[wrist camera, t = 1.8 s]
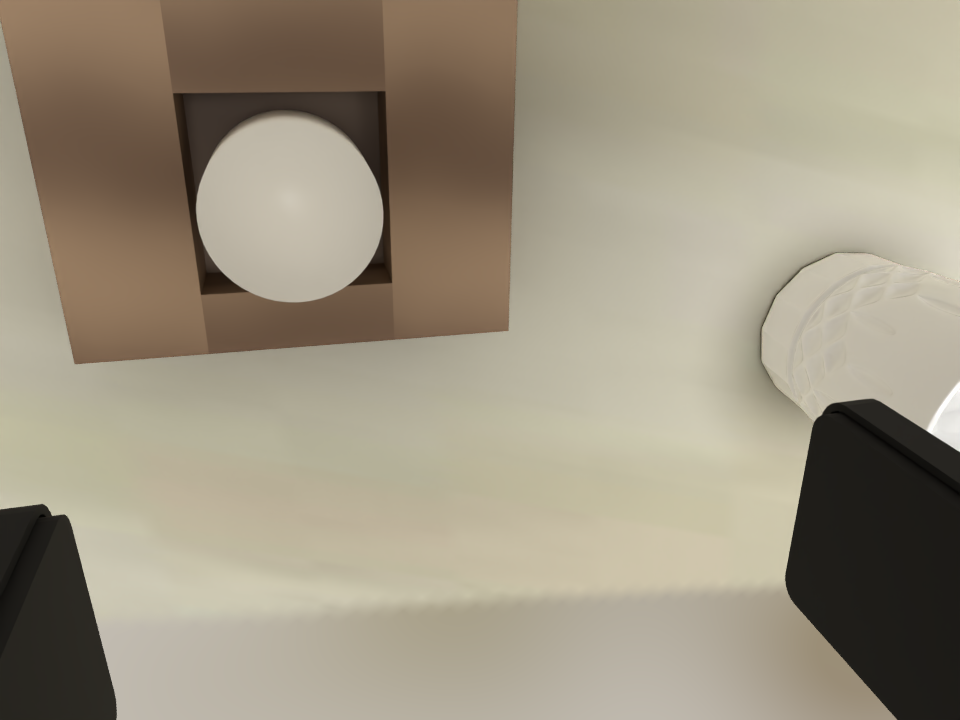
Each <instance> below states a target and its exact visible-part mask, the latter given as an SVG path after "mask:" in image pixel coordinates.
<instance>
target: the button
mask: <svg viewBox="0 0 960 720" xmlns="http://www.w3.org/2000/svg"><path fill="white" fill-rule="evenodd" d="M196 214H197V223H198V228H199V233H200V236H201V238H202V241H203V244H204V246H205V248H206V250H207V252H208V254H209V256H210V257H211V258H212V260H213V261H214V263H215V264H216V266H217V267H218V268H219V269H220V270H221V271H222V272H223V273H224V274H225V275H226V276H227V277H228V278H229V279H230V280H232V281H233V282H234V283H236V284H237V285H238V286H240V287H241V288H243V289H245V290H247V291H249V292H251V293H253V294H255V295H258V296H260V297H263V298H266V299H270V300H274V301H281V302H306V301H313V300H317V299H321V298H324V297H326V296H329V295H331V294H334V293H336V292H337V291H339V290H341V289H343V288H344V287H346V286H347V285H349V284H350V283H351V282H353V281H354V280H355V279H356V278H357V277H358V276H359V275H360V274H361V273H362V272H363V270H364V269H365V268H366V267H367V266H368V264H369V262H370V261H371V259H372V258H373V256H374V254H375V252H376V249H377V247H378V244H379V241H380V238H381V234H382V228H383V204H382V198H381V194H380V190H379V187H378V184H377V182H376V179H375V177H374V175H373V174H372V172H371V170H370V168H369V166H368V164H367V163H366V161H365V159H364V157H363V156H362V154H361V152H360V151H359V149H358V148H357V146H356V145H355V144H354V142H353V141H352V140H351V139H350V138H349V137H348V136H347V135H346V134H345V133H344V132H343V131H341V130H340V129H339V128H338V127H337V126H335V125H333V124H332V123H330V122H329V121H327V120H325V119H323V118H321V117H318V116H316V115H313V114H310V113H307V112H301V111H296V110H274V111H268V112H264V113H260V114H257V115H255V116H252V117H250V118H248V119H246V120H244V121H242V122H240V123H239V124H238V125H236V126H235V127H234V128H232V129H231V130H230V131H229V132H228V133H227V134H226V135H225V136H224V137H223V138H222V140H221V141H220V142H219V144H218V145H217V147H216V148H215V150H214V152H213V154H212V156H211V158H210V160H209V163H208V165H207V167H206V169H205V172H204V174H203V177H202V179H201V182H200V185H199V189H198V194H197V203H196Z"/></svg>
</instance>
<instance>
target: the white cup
mask: <svg viewBox="0 0 960 720" xmlns="http://www.w3.org/2000/svg"><path fill="white" fill-rule="evenodd" d="M761 361H762V363H763V365H764V367H765V368H766V370H767V372H768V374H769V376H770V378H771V379H772V381H773V383H774V385H775V386H776V387H777V388H778V389H779V390H780V391H781V392H783V393H784V394H785V395H786V396H787V397H788V398H790V399H791V400H792V401H793V402H794V403H795V404H797V405H798V406H799V407H800V408H802V409H803V411H804V412H805V413H806V414H807V415H808V416H809V418H810V419H811V420H812V421H813V422H815V420H816V419H817V417H819V416H821V415H822V413H823V411H824V410H825V408H826V407H827V406H828V405H830V404H832V403H837V402H845V401H853V400H861V399H875V400H878V401H880V402H882V403H883V404H885V405H887V406H888V407H890V408H891V409H893V410H894V411H896V412H898V413H899V414H901V415H902V416H904V417H905V418H907V419H909V420H910V421H912V422H913V423H915V424H917V425H918V426H920V427H921V428H923V429H924V430H926V431H928V432H929V433H931V434H932V435H934V436H935V437H937V438H939V439H940V440H942V441H943V442H945V443H946V444H948V445H950V446H951V447H953V448H954V449H956V450H957V451H959V452H960V281H958V280H954V279H950V278H946V277H944V276H941V275H938V274H935V273H933V272H929V271H925V270H921V269H917V268H912V267H907V266H903V265H900V264H897V263H895V262H892V261H889V260H886V259H884V258H881V257H878V256H875V255H872V254H869V253H835V254H832V255H830V256H828V257H826V258H824V259H822V260H820V261H817V262H815V263H813V264H811V265H809V266H807V267H805V268H803V269H802V270H801V271H800V272H799V273H798V274H797V275H796V276H795V277H794V278H793V279H792V280H791V281H790V282H789V283H788V284H787V285H786V286H785V287H784V288H783V289H782V290H781V291H780V292H779V293H778V294H777V296H776V298H775V300H774V302H773V304H772V307H771V309H770V311H769V313H768V316H767V318H766V320H765V322H764V325H763V327H762V349H761Z"/></svg>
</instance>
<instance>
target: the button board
mask: <svg viewBox="0 0 960 720" xmlns="http://www.w3.org/2000/svg"><path fill="white" fill-rule="evenodd" d="M517 3H518V0H0V20H1V24H2V29H3V34H4V38H5V43H6V48H7V52H8V57H9V62H10V66H11V71H12V75H13V80H14V85H15V89H16V94H17V99H18V103H19V108H20V113H21V117H22V122H23V126H24V131H25V136H26V140H27V145H28V150H29V154H30V159H31V164H32V168H33V173H34V178H35V182H36V187H37V191H38V196H39V201H40V205H41V210H42V215H43V219H44V224H45V229H46V233H47V238H48V242H49V247H50V252H51V256H52V261H53V266H54V270H55V275H56V280H57V284H58V289H59V293H60V298H61V303H62V307H63V312H64V317H65V321H66V326H67V331H68V335H69V340H70V344H71V349H72V354H73V358H74V363H75V364H83V363H96V362H109V361H122V360H135V359H148V358H161V357H174V356H187V355H200V354H213V353H226V352H239V351H252V350H265V349H278V348H291V347H304V346H317V345H330V344H343V343H356V342H369V341H382V340H395V339H408V338H421V337H434V336H447V335H460V334H473V333H486V332H499V331H508V327H509V291H510V255H511V219H512V183H513V147H514V111H515V75H516V39H517ZM274 110H296V111H301V112H307V113H310V114H313V115H316V116H318V117H321V118H323V119H325V120H327V121H329V122H330V123H332V124H333V125H335V126H337V127H338V128H339V129H340V130H341V131H343V132H344V133H345V134H346V135H347V136H348V137H349V138H350V139H351V140H352V141H353V142H354V144H355V145H356V146H357V148H358V149H359V151H360V152H361V154H362V156H363V157H364V159H365V161H366V163H367V164H368V166H369V168H370V170H371V172H372V174H373V175H374V177H375V179H376V182H377V184H378V187H379V190H380V194H381V198H382V204H383V228H382V234H381V238H380V241H379V244H378V247H377V249H376V252H375V254H374V256H373V258H372V259H371V261H370V262H369V264H368V266H367V267H366V268H365V269H364V270H363V272H362V273H361V274H360V275H359V276H358V277H357V278H356V279H355V280H354V281H353V282H351V283H350V284H349V285H347V286H346V287H344V288H343V289H341V290H339V291H337V292H336V293H334V294H331V295H329V296H326V297H324V298H321V299H317V300H313V301H306V302H281V301H274V300H270V299H266V298H263V297H260V296H258V295H255V294H253V293H251V292H249V291H247V290H245V289H243V288H241V287H240V286H238V285H237V284H236V283H234V282H233V281H232V280H230V279H229V278H228V277H227V276H226V275H225V274H224V273H223V272H222V271H221V270H220V269H219V268H218V267H217V266H216V264H215V263H214V261H213V260H212V258H211V257H210V256H209V254H208V252H207V250H206V248H205V246H204V244H203V241H202V238H201V236H200V233H199V228H198V223H197V214H196V203H197V194H198V189H199V185H200V182H201V179H202V177H203V174H204V172H205V169H206V167H207V165H208V163H209V160H210V158H211V156H212V154H213V152H214V150H215V148H216V147H217V145H218V144H219V142H220V141H221V140H222V138H223V137H224V136H225V135H226V134H227V133H228V132H229V131H230V130H231V129H232V128H234V127H235V126H236V125H238V124H239V123H240V122H242V121H244V120H246V119H248V118H250V117H252V116H255V115H257V114H260V113H264V112H268V111H274Z"/></svg>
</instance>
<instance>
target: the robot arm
mask: <svg viewBox="0 0 960 720" xmlns="http://www.w3.org/2000/svg"><path fill="white" fill-rule="evenodd" d="M785 581H786V587H787V591H788V594H789V596H790V598H791V600H792V601H793V602H794V604H795V605H796V606H797V607H798V608H799V609H800V611H801V612H802V613H803V614H804V615H805V616H806V617H807V619H808V620H810V622H811V623H812V624H813V625H814V626H815V628H816V629H817V630H818V631H819V632H820V633H821V634H822V635H823V636H824V638H825V639H826V640H827V641H828V642H829V643H830V644H831V645H832V646H833V648H834V649H835V650H836V651H837V652H838V653H839V654H840V656H841V657H842V658H843V659H844V660H845V661H846V662H847V663H848V665H849V666H850V667H851V668H852V669H853V670H854V671H855V672H856V674H857V675H858V676H859V677H860V678H861V679H862V680H863V682H864V683H865V684H866V685H867V686H868V687H869V688H870V689H871V691H872V692H873V693H874V694H875V695H876V696H877V697H878V698H879V699H880V701H881V702H882V703H883V704H884V705H885V706H886V707H887V708H888V710H889V711H890V712H891V713H892V714H893V715H894V716H895V717H896V719H897V720H960V452H959V451H957V450H956V449H954V448H953V447H951V446H950V445H948V444H946V443H945V442H943V441H942V440H940V439H939V438H937V437H935V436H934V435H932V434H931V433H929V432H928V431H926V430H924V429H923V428H921V427H920V426H918V425H917V424H915V423H913V422H912V421H910V420H909V419H907V418H905V417H904V416H902V415H901V414H899V413H898V412H896V411H894V410H893V409H891V408H890V407H888V406H887V405H885V404H883V403H882V402H880V401H878V400H875V399H861V400H853V401H845V402H837V403H832V404H830V405H828V406H827V407H826V408H825V410H824V411H823V413H822V415H821V416H819V417H817V419H816V420H815V422H814V425H813V428H812V433H811V439H810V444H809V449H808V455H807V460H806V466H805V471H804V477H803V482H802V487H801V493H800V498H799V504H798V509H797V514H796V520H795V525H794V531H793V536H792V542H791V547H790V552H789V558H788V563H787V569H786V575H785ZM116 711H117V710H116V698H115V694H114V689H113V685H112V681H111V677H110V674H109V670H108V666H107V662H106V658H105V654H104V650H103V646H102V643H101V639H100V635H99V631H98V627H97V623H96V619H95V615H94V611H93V608H92V604H91V600H90V596H89V592H88V588H87V584H86V580H85V577H84V573H83V569H82V565H81V561H80V557H79V553H78V549H77V546H76V542H75V538H74V534H73V530H72V526H71V523H70V521H69V519H68V517H67V516H66V515H57V516H52V515H51V512H50V511H49V509H48V508H47V506H45V505H43V504H40V505H32V506H24V507H16V508H8V509H1V510H0V720H116V718H117V712H116Z"/></svg>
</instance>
